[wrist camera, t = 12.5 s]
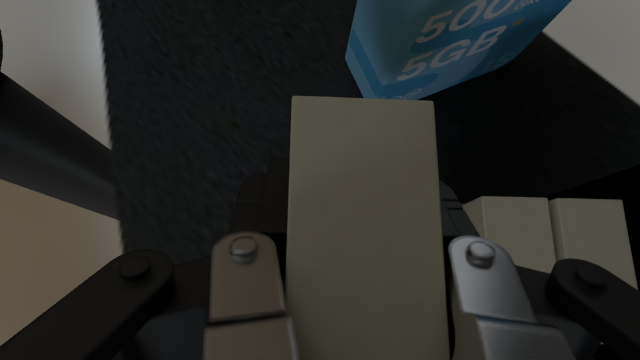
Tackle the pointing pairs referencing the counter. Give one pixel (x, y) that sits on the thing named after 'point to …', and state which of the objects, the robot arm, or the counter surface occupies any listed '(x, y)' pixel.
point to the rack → (570, 228)
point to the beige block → (365, 231)
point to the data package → (438, 42)
